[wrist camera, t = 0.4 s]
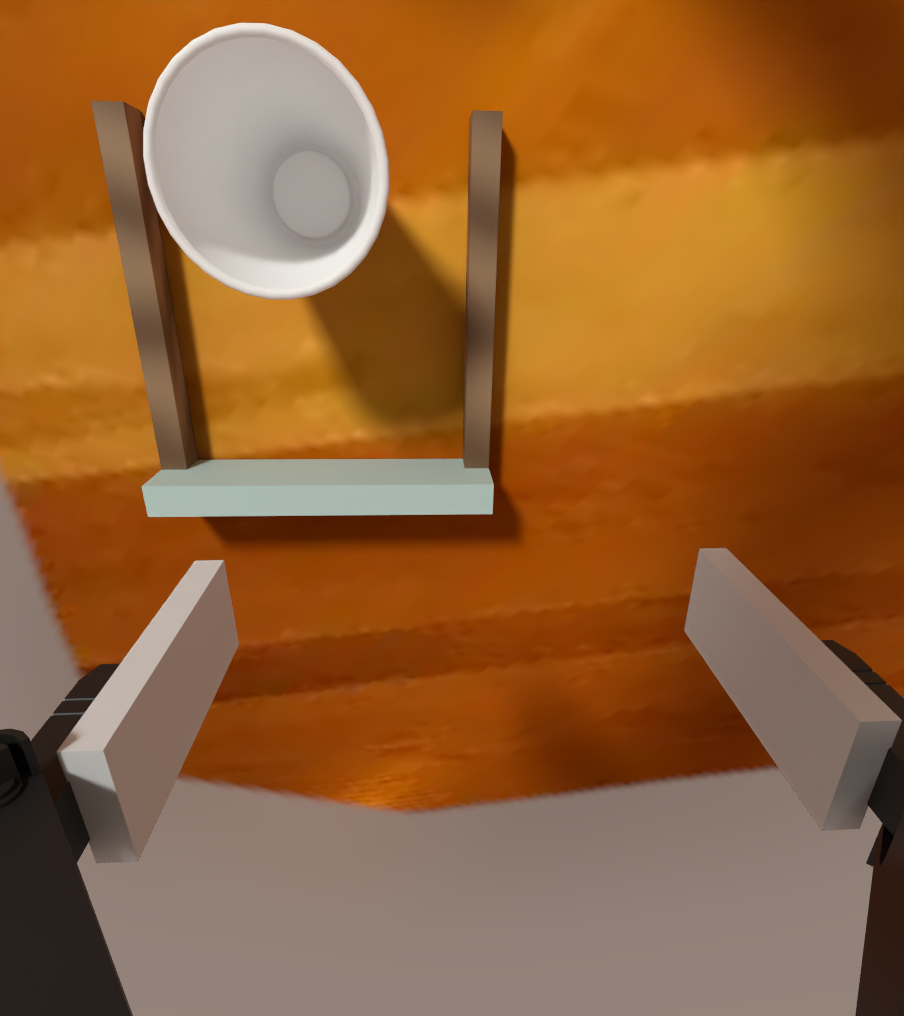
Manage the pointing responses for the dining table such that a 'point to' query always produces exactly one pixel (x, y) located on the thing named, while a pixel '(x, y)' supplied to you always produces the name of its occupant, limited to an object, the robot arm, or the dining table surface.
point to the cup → (266, 161)
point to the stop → (320, 488)
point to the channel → (154, 303)
